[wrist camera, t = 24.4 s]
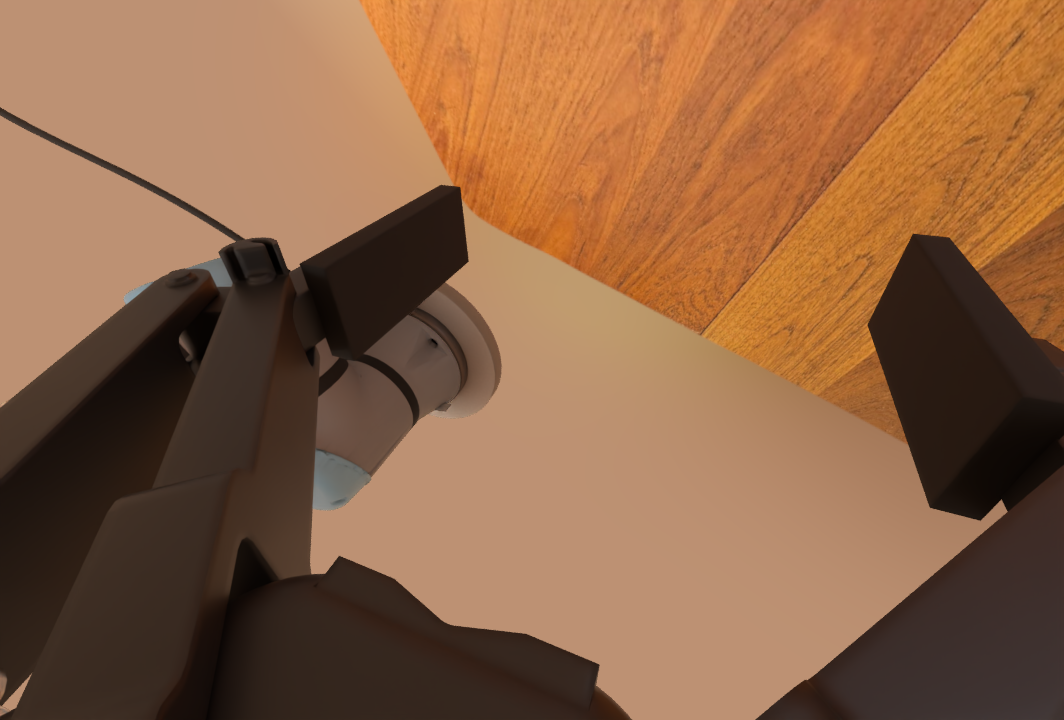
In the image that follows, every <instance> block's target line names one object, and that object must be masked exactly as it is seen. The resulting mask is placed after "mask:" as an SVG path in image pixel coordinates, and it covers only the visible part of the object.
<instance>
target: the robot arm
mask: <svg viewBox="0 0 1064 720" xmlns="http://www.w3.org/2000/svg"><path fill="white" fill-rule="evenodd" d="M0 115H1V116H2V117H4V118H6V119H8V120H9V121H11V122H13V123H15V124H17V125H19V126H21V127H22V128H24V129H26V130H28V131H30V132H32V133H34V134H36V135H38V136H40V137H42V138H44V139H46V140H48V141H50V142H51V143H54V144H56V145H58V146H60V147H62V148H64V149H66V150H68V151H70V152H72V153H74V154H76V155H78V156H81V157H83V158H85V159H87V160H89V161H91V162H93V163H95V164H97V165H99V166H101V167H103V168H105V169H107V170H110V171H112V172H114V173H116V174H118V175H120V176H122V177H124V178H126V179H128V180H130V181H132V182H134V183H136V184H138V185H140V186H142V187H144V188H146V189H147V190H149V191H151V192H153V193H155V194H157V195H159V196H161V197H163V198H164V199H167V200H168V201H170V202H172V203H173V204H175V205H177V206H179V207H180V208H182V209H184V210H186V211H188V212H189V213H191V214H193V215H194V216H196V217H198V218H199V219H201V220H203V221H204V222H206V223H208V224H209V225H211V226H212V227H214V228H216V229H217V230H219V231H220V232H222V233H224V234H225V235H227V236H228V237H230V238H231V239H233V240H234V241H236V242H235V243H232V244H229V245H228V246H226V247H224V248H222V249H221V250H220V251H219V255H220V257H221V258H217V259H214V260H211V261H208V262H204V263H201V264H198V265H195V266H192V267H189V268H186V269H180V270H175V271H172V272H170V273H169V274H168V275H165V276H163V277H161V278H159V279H158V280H156V281H154V282H150V283H147V284H144V285H142V286H140V287H138V288H136V289H134V290H132V291H130V292H128V293H127V294H126V295H125V297H124V302H125V304H126V305H125V306H124V307H123V308H122V309H120V310H119V311H118V312H117V313H115V314H114V315H113V316H112V317H110V318H109V319H108V320H107V321H106V322H104V323H103V324H102V325H101V326H99V327H98V328H97V329H96V330H95V331H93V332H92V333H91V334H90V335H89V336H87V337H86V338H85V339H84V340H82V341H81V342H80V343H79V344H78V345H76V346H75V347H74V348H73V349H71V350H70V351H69V352H68V353H66V354H65V355H64V356H63V357H62V358H61V359H59V360H58V361H57V362H55V363H54V364H53V365H52V366H51V367H49V368H48V369H47V370H46V371H45V372H43V373H42V374H41V375H40V376H38V377H37V378H36V379H35V380H33V382H31V383H30V384H29V385H27V386H26V387H25V388H24V389H22V390H21V391H20V392H19V393H18V394H16V395H15V396H14V397H13V398H11V399H10V400H8V401H6V402H4V403H2V404H1V405H0V720H632V719H631V718H630V717H629V716H628V714H627V713H626V712H625V711H624V710H623V709H622V708H621V707H620V706H619V705H618V704H617V703H616V702H615V701H614V700H613V699H612V698H611V697H610V696H608V695H607V694H606V693H605V692H603V691H602V690H601V689H600V688H599V687H597V686H596V683H597V677H598V671H599V664H597V663H594V662H592V661H590V660H587V659H585V658H582V657H580V656H578V655H575V654H573V653H570V652H568V651H566V650H563V649H561V648H558V647H556V646H554V645H551V644H549V643H546V642H544V641H542V640H539V639H537V638H535V637H532V636H530V635H527V634H522V633H512V632H505V631H496V630H487V629H477V628H469V627H461V626H453V625H449V624H447V623H445V622H443V621H442V620H440V619H439V618H438V617H437V616H436V615H435V614H434V613H432V612H431V611H430V610H429V609H428V608H427V607H426V606H425V605H423V604H422V603H421V602H420V601H419V600H418V599H417V598H415V597H414V596H413V595H412V594H411V593H410V592H409V591H407V590H406V589H405V588H404V587H403V586H402V585H401V584H399V583H398V582H397V581H396V580H395V579H393V578H391V577H388V576H386V575H384V574H381V573H379V572H377V571H374V570H372V569H369V568H367V567H365V566H362V565H360V564H358V563H355V562H353V561H350V560H348V559H346V558H343V557H341V556H339V557H338V558H337V560H336V561H335V562H334V564H333V565H332V566H331V567H330V569H329V570H328V571H327V572H326V574H311V569H310V547H311V528H312V509H317V510H334V509H338V508H340V507H342V506H344V505H345V504H347V503H348V502H349V501H350V500H351V499H352V498H353V497H354V496H355V495H356V494H357V493H358V492H359V490H360V489H362V488H363V487H364V485H366V484H367V483H369V482H370V480H371V477H372V476H373V475H374V473H375V472H376V471H377V470H378V469H379V467H380V466H381V465H382V464H383V462H384V461H385V460H386V459H387V457H388V456H389V455H390V454H391V453H392V451H393V450H394V449H395V448H396V446H397V445H398V444H399V443H400V442H401V441H402V439H403V438H404V437H405V436H406V434H407V433H408V432H409V431H410V430H411V428H412V427H413V426H414V425H415V424H416V422H417V421H418V420H419V419H421V418H422V417H424V416H426V415H427V414H429V413H430V412H432V411H434V410H439V411H445V412H446V410H447V409H448V408H449V407H450V405H451V404H447V403H449V402H450V401H451V400H453V399H454V398H455V397H456V396H457V395H458V394H459V392H460V391H461V390H462V388H463V387H464V385H465V383H466V381H467V376H468V367H467V361H466V358H465V355H464V352H463V350H462V348H461V346H460V344H459V343H458V341H457V340H456V338H455V337H454V336H453V334H452V333H451V332H450V331H449V330H448V329H447V328H446V327H445V326H444V325H443V324H442V323H441V322H440V321H439V320H438V319H436V318H435V317H434V316H432V315H430V314H429V313H427V312H425V311H424V310H422V309H419V308H417V306H418V305H420V304H421V303H422V302H423V301H424V300H425V299H426V298H428V297H429V296H430V295H431V294H432V293H433V292H434V291H436V290H437V289H438V288H439V287H440V286H441V285H442V284H443V283H445V282H446V281H447V280H448V279H449V278H450V277H451V276H453V275H454V274H455V273H456V272H457V271H458V270H459V269H461V268H462V267H463V266H464V265H465V264H466V263H467V262H468V252H467V244H466V235H465V225H464V216H463V207H462V199H461V190H460V187H455V186H445V185H440V186H438V187H436V188H435V189H433V190H431V191H429V192H427V193H426V194H424V195H422V196H420V197H418V198H417V199H415V200H413V201H411V202H409V203H408V204H406V205H404V206H402V207H401V208H399V209H397V210H395V211H393V212H392V213H390V214H388V215H386V216H384V217H383V218H381V219H379V220H377V221H375V222H374V223H372V224H370V225H368V226H367V227H365V228H363V229H361V230H359V231H358V232H356V233H354V234H352V235H350V236H349V237H347V238H345V239H343V240H342V241H340V242H338V243H336V244H335V245H333V246H331V247H329V248H327V249H325V250H324V251H322V252H320V253H318V254H316V255H315V256H313V257H311V258H309V259H308V260H306V261H304V262H302V263H300V267H298V268H296V269H295V270H293V271H290V270H289V269H288V268H287V267H286V264H285V261H284V258H283V256H282V253H281V250H280V248H279V245H278V242H277V240H274V239H272V238H251V239H244V238H243V237H241V236H240V235H238V234H236V233H235V232H233V231H232V230H231V229H229V228H227V227H226V226H224V225H223V224H221V223H220V222H218V221H216V220H215V219H213V218H211V217H210V216H208V215H207V214H205V213H203V212H202V211H200V210H198V209H197V208H195V207H193V206H191V205H190V204H188V203H186V202H185V201H183V200H181V199H179V198H177V197H176V196H174V195H172V194H170V193H168V192H167V191H165V190H163V189H161V188H159V187H157V186H155V185H153V184H151V183H150V182H147V181H146V180H144V179H142V178H140V177H138V176H136V175H134V174H132V173H130V172H128V171H126V170H124V169H122V168H120V167H118V166H116V165H113V164H111V163H109V162H107V161H105V160H103V159H101V158H99V157H97V156H95V155H93V154H90V153H89V152H86V151H84V150H82V149H80V148H78V147H76V146H74V145H72V144H70V143H67V142H65V141H63V140H61V139H59V138H57V137H55V136H53V135H51V134H49V133H47V132H45V131H43V130H41V129H39V128H37V127H35V126H33V125H31V124H29V123H27V122H26V121H24V120H22V119H20V118H18V117H16V116H14V115H13V114H11V113H9V112H7V111H6V110H4V109H2V108H0ZM868 327H869V330H870V333H871V336H872V339H873V342H874V345H875V348H876V351H877V354H878V357H879V360H880V363H881V366H882V369H883V371H884V374H885V377H886V380H887V383H888V386H889V389H890V392H891V395H892V398H893V401H894V404H895V407H896V410H897V413H898V416H899V418H900V421H901V424H902V427H903V430H904V433H905V436H906V439H907V442H908V445H909V448H910V451H911V453H912V457H913V460H914V462H915V465H916V468H917V471H918V474H919V477H920V480H921V483H922V486H923V489H924V492H925V494H926V498H927V501H928V503H929V506H930V508H933V509H937V510H941V511H945V512H949V513H953V514H957V515H961V516H965V517H968V518H972V519H977V520H982V518H984V517H985V516H986V515H987V514H988V513H989V512H990V511H991V509H993V507H994V506H995V505H996V504H997V503H998V502H999V501H1000V500H1001V499H1002V501H1003V503H1004V505H1005V507H1006V509H1007V511H1008V512H1007V513H1006V514H1005V515H1004V516H1003V517H1002V518H1000V519H999V520H998V521H997V522H995V523H994V524H993V525H992V526H991V527H989V528H988V529H987V530H986V531H985V532H984V533H982V534H981V535H980V536H979V537H978V538H976V539H975V540H974V541H973V542H972V543H971V544H969V545H968V546H967V547H966V548H965V549H963V550H962V551H961V552H960V553H959V554H958V555H956V556H955V557H954V558H953V559H952V560H950V561H949V562H948V563H947V564H946V565H944V566H943V567H942V568H941V569H940V570H939V571H937V572H936V573H935V574H934V575H933V576H931V577H930V578H929V579H928V580H927V581H926V582H924V583H923V584H922V585H921V586H920V587H918V588H917V589H916V590H915V591H914V592H912V593H911V594H910V595H909V596H908V597H907V598H905V599H904V600H903V601H902V602H901V603H899V604H898V605H897V606H896V607H895V608H894V609H892V610H891V611H890V612H889V613H888V614H887V615H885V616H884V617H883V618H882V619H881V620H879V621H878V622H877V623H876V624H875V625H873V626H872V627H871V628H870V629H869V630H868V631H866V632H865V633H864V634H863V635H862V636H860V637H859V638H858V639H857V640H856V641H855V642H854V643H852V644H851V645H850V646H849V647H847V648H846V649H845V650H844V651H843V652H842V653H840V654H839V655H838V656H837V657H836V658H834V659H833V660H832V661H831V662H830V663H828V664H827V665H826V666H825V667H824V668H823V669H821V670H820V671H819V672H818V673H817V674H815V675H814V676H813V677H811V678H810V679H809V680H804V681H803V682H801V683H800V684H799V685H797V686H796V687H794V688H793V689H792V690H791V691H790V692H788V693H787V694H786V695H785V696H783V697H782V698H781V699H780V700H778V701H777V702H776V703H775V704H774V705H772V706H771V707H770V708H769V709H768V710H766V711H765V712H764V713H763V714H762V715H761V716H759V717H758V718H757V719H756V720H1064V352H1063V351H1062V350H1060V349H1059V348H1057V347H1056V346H1054V345H1052V344H1051V343H1049V342H1048V341H1046V340H1043V339H1037V338H1031V336H1030V335H1029V334H1028V333H1027V332H1026V330H1025V329H1024V328H1023V327H1022V325H1021V324H1020V323H1019V322H1018V321H1017V319H1016V318H1015V317H1014V316H1013V315H1012V313H1011V312H1010V311H1009V310H1008V308H1007V307H1006V306H1005V305H1004V304H1003V302H1002V301H1001V300H1000V299H999V298H998V296H997V295H996V294H995V293H994V291H993V290H992V289H991V288H990V287H989V285H988V284H987V283H986V282H985V281H984V279H983V278H982V277H981V276H980V274H979V273H978V272H977V271H976V270H975V268H974V267H973V266H972V265H971V264H970V262H969V261H968V260H967V259H966V257H965V256H964V255H963V254H962V253H961V251H960V250H959V249H958V248H957V247H956V245H955V244H954V243H953V242H952V240H951V239H950V238H948V237H939V236H929V235H919V234H913V235H912V237H911V239H910V241H909V243H908V245H907V247H906V249H905V251H904V253H903V255H902V257H901V259H900V261H899V263H898V265H897V267H896V269H895V271H894V273H893V275H892V277H891V279H890V281H889V283H888V285H887V287H886V289H885V291H884V293H883V295H882V297H881V299H880V301H879V303H878V305H877V307H876V309H875V311H874V313H873V315H872V317H871V319H870V321H869V323H868ZM32 672H33V673H32ZM31 673H32V675H31ZM29 675H31V677H30V680H29V681H28V684H27V686H26V688H25V690H24V692H23V694H22V697H21V699H20V701H19V703H18V705H17V708H15V709H13V710H11V711H10V710H9V709H7V708H5V707H2V705H3V704H4V703H5V702H6V701H7V699H8V698H9V697H10V696H11V695H12V694H13V693H14V692H15V691H16V690H17V689H18V688H19V686H21V684H22V683H23V682H24V681H25V680H26V679H27V678H28V677H29Z"/></svg>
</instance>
